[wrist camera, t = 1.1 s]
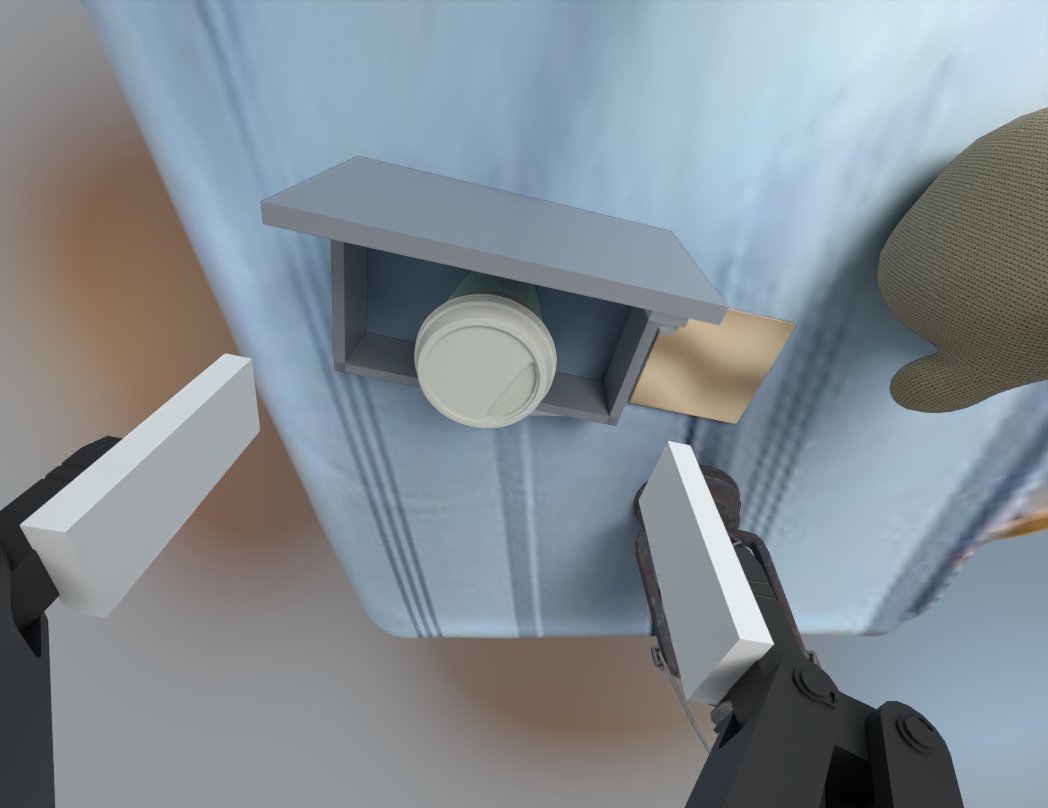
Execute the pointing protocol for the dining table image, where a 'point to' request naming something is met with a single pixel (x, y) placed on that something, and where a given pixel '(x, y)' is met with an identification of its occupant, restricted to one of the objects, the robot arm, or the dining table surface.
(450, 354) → the coffee cup
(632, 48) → the dining table surface
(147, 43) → the dining table surface
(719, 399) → the cork pad
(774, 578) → the lantern
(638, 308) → the case
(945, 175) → the bear
